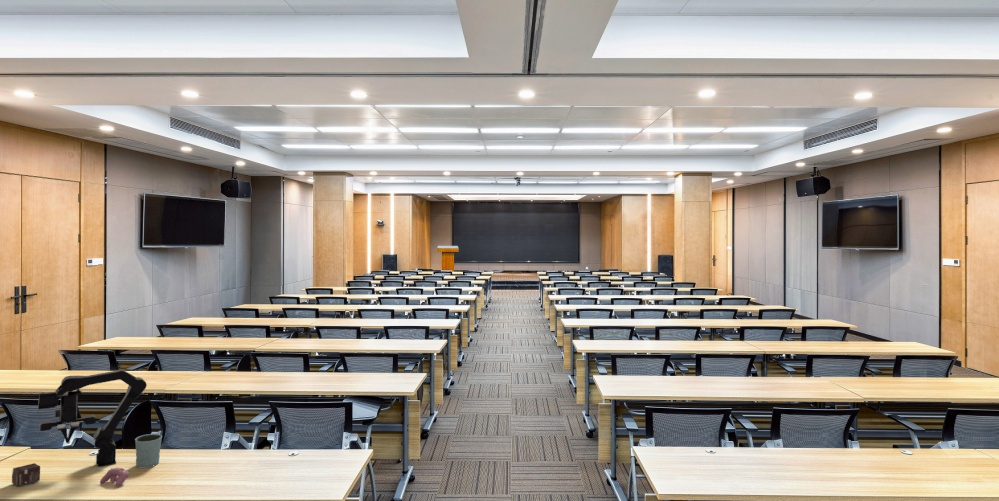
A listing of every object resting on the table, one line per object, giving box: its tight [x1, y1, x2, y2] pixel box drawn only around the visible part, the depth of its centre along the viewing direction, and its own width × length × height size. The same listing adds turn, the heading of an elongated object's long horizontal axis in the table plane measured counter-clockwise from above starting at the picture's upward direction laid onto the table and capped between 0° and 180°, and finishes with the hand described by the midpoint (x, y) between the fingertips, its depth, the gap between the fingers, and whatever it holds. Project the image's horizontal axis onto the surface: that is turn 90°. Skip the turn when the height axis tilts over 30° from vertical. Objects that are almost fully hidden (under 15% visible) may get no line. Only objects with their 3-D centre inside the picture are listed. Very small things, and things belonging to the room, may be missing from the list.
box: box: [11, 462, 41, 487], centre depth 223 cm, size 6×6×7 cm
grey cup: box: [134, 433, 163, 468], centre depth 246 cm, size 10×10×12 cm
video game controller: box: [99, 467, 130, 488], centre depth 226 cm, size 10×5×7 cm, turn 72°
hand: (67, 442), depth 237 cm, fingers closed
